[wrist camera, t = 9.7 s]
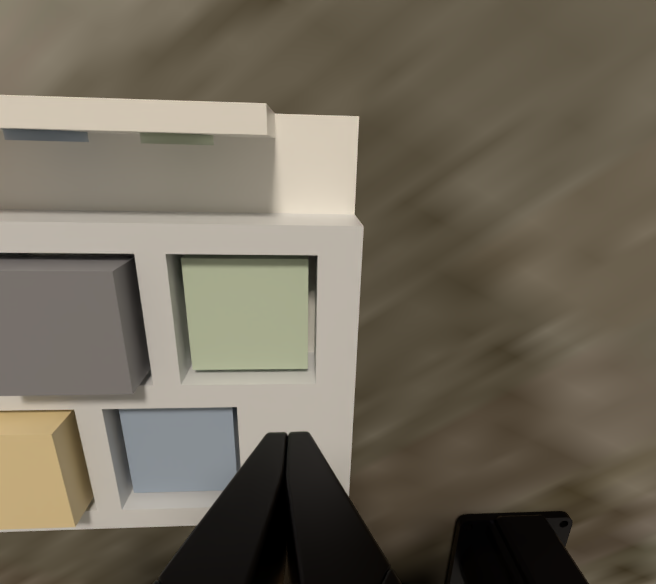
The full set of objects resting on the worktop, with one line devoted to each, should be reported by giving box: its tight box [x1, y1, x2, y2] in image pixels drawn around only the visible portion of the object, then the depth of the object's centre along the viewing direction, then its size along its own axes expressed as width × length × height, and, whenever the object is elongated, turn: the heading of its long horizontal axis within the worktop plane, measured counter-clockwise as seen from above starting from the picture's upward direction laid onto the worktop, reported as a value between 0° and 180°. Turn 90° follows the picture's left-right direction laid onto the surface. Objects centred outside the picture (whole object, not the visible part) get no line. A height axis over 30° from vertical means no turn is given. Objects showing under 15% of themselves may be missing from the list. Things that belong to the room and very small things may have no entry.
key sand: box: [0, 410, 94, 530], centre depth 15 cm, size 4×4×2 cm
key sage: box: [181, 254, 309, 370], centre depth 15 cm, size 4×4×2 cm
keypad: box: [0, 95, 364, 532], centre depth 15 cm, size 16×20×4 cm
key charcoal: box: [0, 255, 151, 396], centre depth 14 cm, size 4×4×2 cm
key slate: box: [119, 407, 241, 493], centre depth 17 cm, size 4×4×2 cm
